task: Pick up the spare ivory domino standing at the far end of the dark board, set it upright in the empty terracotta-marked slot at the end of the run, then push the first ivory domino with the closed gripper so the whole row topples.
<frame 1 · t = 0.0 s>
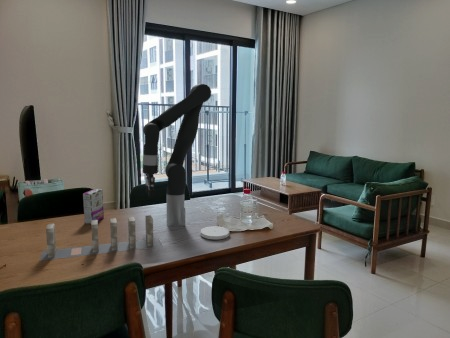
hand: (149, 195, 170), 17 cm above the table, tool pointing down, fingers open, 8 cm apart
ivory domino 3: (114, 247, 145), point 1 cm above the table, touching domino board
ivory domino 1: (149, 243, 150), point 1 cm above the table, touching domino board
plastic lid: (214, 236, 165), on the table
ivory domino 4: (95, 249, 142), point 1 cm above the table, touching domino board
candy bar box: (94, 221, 182), on the table
ivory domino 2: (132, 245, 148), point 1 cm above the table, touching domino board
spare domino: (52, 254, 136), point 1 cm above the table, touching domino board
domino board: (104, 250, 144), on the table
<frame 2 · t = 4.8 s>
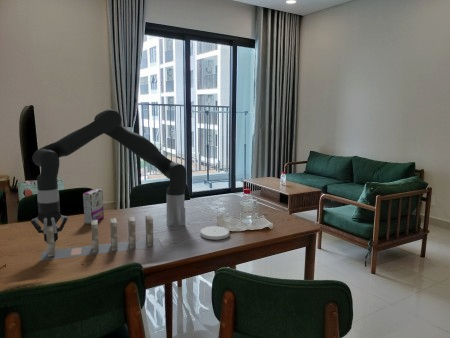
hand: (51, 241, 136), 7 cm above the table, tool pointing down, fingers closed on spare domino, 2 cm apart
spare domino: (52, 253, 136), point 2 cm above the table, touching gripper
everything else where it was.
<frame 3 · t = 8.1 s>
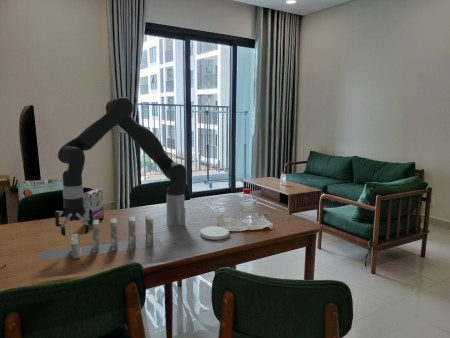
hand: (75, 234, 138), 9 cm above the table, tool pointing down, fingers open, 8 cm apart
ivory domino 4: (95, 249, 142), point 1 cm above the table, touching domino board, gripper
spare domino: (75, 240, 143), point 4 cm above the table, tilted 90°, touching domino board
everything else where it was.
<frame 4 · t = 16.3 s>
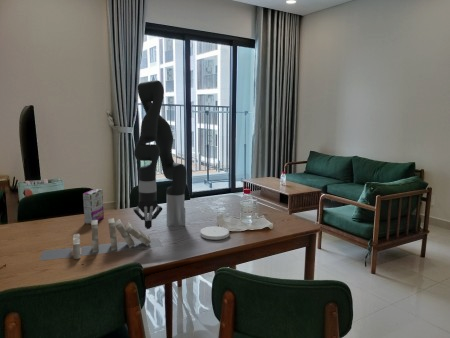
hand: (148, 228, 149), 8 cm above the table, tool pointing down, fingers closed
ivory domino 1: (148, 241, 150), point 2 cm above the table, tilted 48°
ivory domino 4: (95, 249, 142), point 1 cm above the table, touching domino board
ivory domino 2: (131, 244, 148), point 2 cm above the table, tilted 28°, touching domino board
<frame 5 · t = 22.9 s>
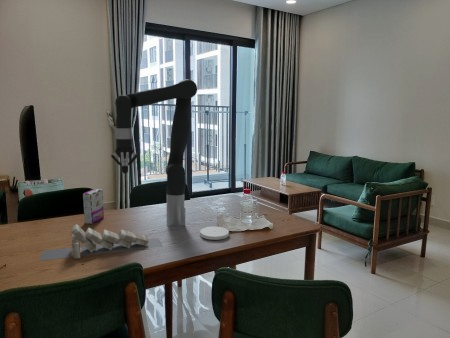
hand: (124, 173, 164), 29 cm above the table, tool pointing down, fingers closed
ivory domino 3: (112, 245, 145), point 2 cm above the table, tilted 54°, touching domino board, ivory domino 2, ivory domino 4
ivory domino 1: (146, 241, 150), point 2 cm above the table, tilted 68°, touching domino board, ivory domino 2
ivory domino 4: (93, 247, 142), point 2 cm above the table, tilted 37°, touching domino board, ivory domino 3, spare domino
ivory domino 2: (129, 243, 147), point 2 cm above the table, tilted 64°, touching domino board, ivory domino 1, ivory domino 3
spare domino: (76, 240, 143), point 4 cm above the table, tilted 90°, touching domino board, ivory domino 4
everything else where it was.
at the end: ivory domino 1 tilted 68°; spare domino tilted 90°; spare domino inside the target area (6.2 cm from its centre), point 4.2 cm above the table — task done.
